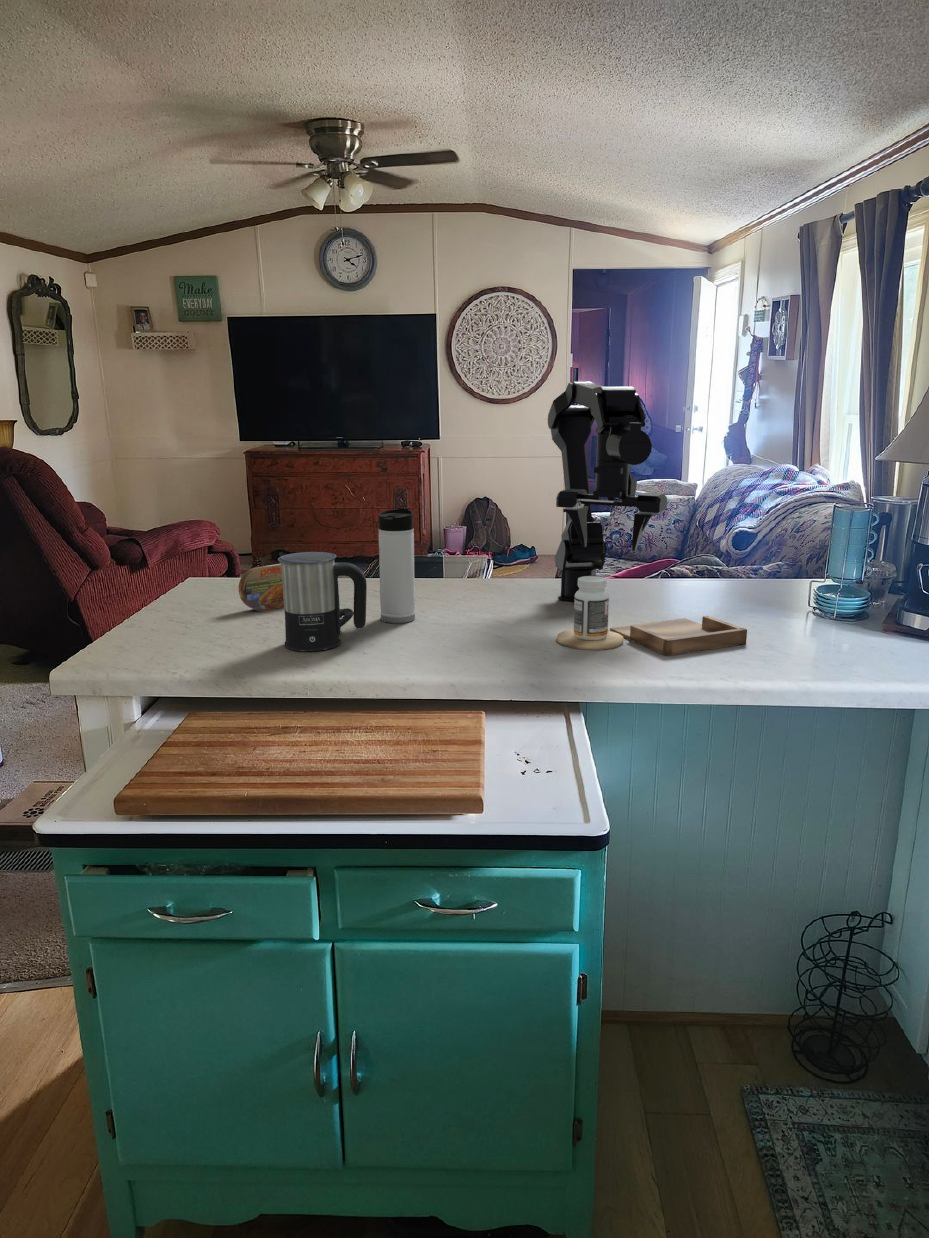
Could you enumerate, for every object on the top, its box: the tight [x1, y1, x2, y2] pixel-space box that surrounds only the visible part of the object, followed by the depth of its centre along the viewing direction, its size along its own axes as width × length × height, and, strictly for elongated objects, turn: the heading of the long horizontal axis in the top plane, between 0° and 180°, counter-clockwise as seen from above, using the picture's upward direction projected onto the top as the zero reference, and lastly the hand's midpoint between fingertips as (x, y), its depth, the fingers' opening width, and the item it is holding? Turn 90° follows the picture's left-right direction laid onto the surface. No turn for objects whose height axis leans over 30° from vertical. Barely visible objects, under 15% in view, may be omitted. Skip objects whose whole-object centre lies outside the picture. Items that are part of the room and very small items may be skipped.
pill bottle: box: [573, 575, 610, 640], centre depth 145 cm, size 6×6×10 cm
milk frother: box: [277, 551, 368, 652], centre depth 146 cm, size 14×16×15 cm
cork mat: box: [556, 628, 624, 651], centre depth 146 cm, size 11×11×1 cm
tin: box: [238, 563, 284, 612], centre depth 169 cm, size 15×3×8 cm, turn 129°
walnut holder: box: [609, 615, 748, 657], centre depth 148 cm, size 16×16×2 cm
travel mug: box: [377, 507, 416, 624], centre depth 158 cm, size 6×7×20 cm
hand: (609, 548), depth 157 cm, fingers open, 9 cm apart
